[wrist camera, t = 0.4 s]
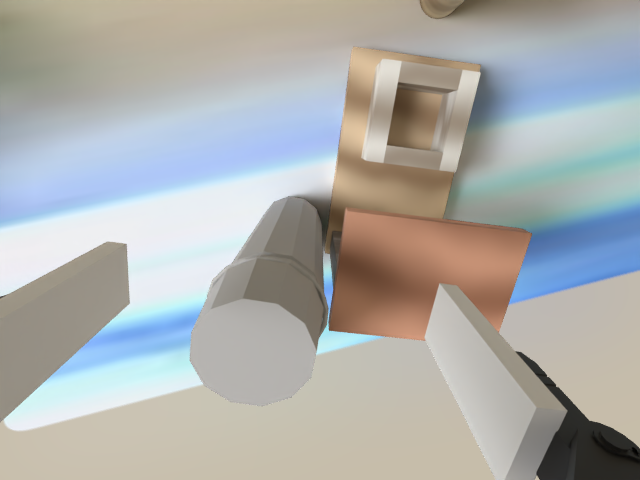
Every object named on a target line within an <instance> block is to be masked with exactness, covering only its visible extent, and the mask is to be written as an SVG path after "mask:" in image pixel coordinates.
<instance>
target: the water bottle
mask: <svg viewBox="0 0 640 480" xmlns="http://www.w3.org/2000/svg"><path fill="white" fill-rule="evenodd" d="M327 318H328V305H327V301H326V297H325V295H324V279H323V247H322V222H321V220H320V217H319V214H318V212H317V209H316V208H315V207H313V206H312V205H311V204H310V203H309V202H307V201H306V200H305V199H301V198H295V197H289V196H288V197H286V198H283V199H280V200H278V201H275V202H274V203H273V204H272V205H271V206H270V208H269V209H268V210H267V211H266V213H265V214H264V215H263V217H262V218H261V220H260V221H259V223H258V224H257V226H256V227H255V229H254V230H253V232H252V233H251V235H250V236H249V238H248V240H247V241H246V243H245V244H244V246H243V247H242V249H241V250H240V252H239V253H238V255H237V256H236V258H235V259H234V261H233V262H232V264H231V265H228V266H226V267H225V268H224V269H223V270H222V271H221V272H220V273H219V274H218V275H217V276H216V277H215V278H214V279H213V280H212V283H211V285H210V288H209V291H208V294H207V299H206V301H205V303H204V306H203V308H202V310H201V312H200V315H199V317H198V319H197V321H196V323H195V326H194V328H193V330H192V332H191V348H190V362H191V364H192V365H193V367H194V369H195V370H196V372H197V374H198V376H199V377H200V379H201V381H202V382H203V384H204V386H206V387H208V388H209V389H211V390H212V391H214V392H215V393H217V394H219V395H220V396H222V397H224V398H225V399H227V400H228V401H230V402H235V403H243V404H249V405H257V406H264V405H268V404H271V403H274V402H278V401H281V400H285V399H288V398H291V397H292V396H293V395H294V394H295V393H296V392H297V391H298V390H299V389H300V388H301V387H302V386H303V385H304V384H305V383H306V382H307V381H308V380H309V379H310V378H311V376H312V371H313V366H314V361H315V357H316V352H317V346H318V339H319V337H320V335H321V334H322V332H323V331H324V329H325V327H326V326H327ZM322 319H323V320H322Z"/></svg>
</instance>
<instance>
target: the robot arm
mask: <svg viewBox="0 0 640 480" xmlns="http://www.w3.org/2000/svg"><path fill="white" fill-rule="evenodd" d="M129 303H130V301H129V281H128V262H127V244H123V243H115V242H106V243H104V244H102V245H100V246H98V247H96V248H94V249H93V250H91V251H89V252H87V253H85V254H83V255H81V256H79V257H78V258H76V259H74V260H72V261H70V262H68V263H66V264H64V265H63V266H61V267H59V268H57V269H55V270H53V271H51V272H49V273H47V274H46V275H44V276H42V277H40V278H38V279H36V280H34V281H32V282H31V283H29V284H27V285H25V286H23V287H21V288H19V289H17V290H16V291H14V292H12V293H10V294H8V295H4V296H1V297H0V422H1V421H2V420H3V419H4V418H5V417H7V416H8V415H9V414H10V413H11V412H12V411H13V410H14V409H15V408H16V407H17V406H19V405H20V404H21V403H22V402H23V401H24V400H25V399H26V398H27V397H28V396H29V395H30V394H32V393H33V392H34V391H35V390H36V389H37V388H38V387H39V386H40V385H41V384H42V383H44V382H45V381H46V380H47V379H48V378H49V377H50V376H51V375H52V374H53V373H54V372H56V371H57V370H58V369H59V368H60V367H61V366H62V365H63V364H64V363H65V362H66V361H67V360H69V359H70V358H71V357H72V356H73V355H74V354H75V353H76V352H77V351H78V350H79V349H81V348H82V347H83V346H84V345H85V344H86V343H87V342H88V341H89V340H90V339H91V338H92V337H94V336H95V335H96V334H97V333H98V332H99V331H100V330H101V329H102V328H103V327H104V326H106V325H107V324H108V323H109V322H110V321H111V320H112V319H113V318H114V317H115V316H116V315H117V314H119V313H120V312H121V311H122V310H123V309H124V308H125V307H126V306H127V305H128V304H129ZM424 338H425V340H426V342H427V344H428V346H429V348H430V350H431V352H432V354H433V356H434V358H435V360H436V362H437V364H438V366H439V368H440V370H441V372H442V374H443V376H444V378H445V380H446V382H447V384H448V386H449V388H450V390H451V392H452V394H453V396H454V398H455V400H456V402H457V404H458V406H459V408H460V410H461V412H462V414H463V416H464V417H465V420H466V422H467V424H468V426H469V427H470V429H471V432H472V434H473V435H474V438H475V439H476V441H477V443H478V446H479V447H480V450H481V451H482V454H483V456H484V457H485V459H486V461H487V463H488V465H489V467H490V469H491V471H492V473H493V475H494V477H495V479H496V480H535V478H536V476H538V477H539V479H540V480H640V448H639V447H638V446H637V445H636V444H635V443H633V442H632V441H631V440H629V439H628V438H627V437H626V436H624V435H623V434H621V433H619V432H617V431H616V430H614V429H613V428H611V427H608V426H605V425H603V424H601V423H597V422H592V421H589V420H588V419H587V418H586V417H585V415H584V414H583V413H582V412H581V411H580V410H579V409H578V408H577V407H576V406H575V405H574V404H573V402H572V401H571V400H570V399H569V398H568V397H567V396H566V395H565V394H564V393H563V392H562V391H561V390H560V388H558V387H556V384H555V383H554V382H553V381H552V380H551V379H550V378H549V377H547V375H546V373H545V372H544V371H543V370H542V369H541V368H540V367H539V366H538V365H537V364H536V363H535V362H534V361H532V360H531V359H530V358H528V357H527V356H525V355H524V354H523V353H521V352H516V351H514V350H513V349H512V347H511V346H510V345H509V344H508V343H507V342H506V341H505V339H504V338H503V337H502V336H501V335H500V334H499V333H498V331H497V330H496V329H495V328H494V327H493V326H492V325H491V323H490V322H489V321H488V320H487V319H486V318H485V317H484V316H483V314H482V313H481V312H480V311H479V310H478V309H477V308H476V306H475V305H474V304H473V303H472V302H471V301H470V300H469V299H468V297H467V296H466V295H465V294H464V293H463V292H462V291H461V289H460V288H459V287H458V286H457V285H450V284H442V283H439V287H438V290H437V294H436V298H435V301H434V305H433V308H432V312H431V316H430V319H429V323H428V326H427V330H426V334H425V337H424Z"/></svg>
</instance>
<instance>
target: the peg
mask: <svg viewBox="0 0 640 480" xmlns="http://www.w3.org/2000/svg"><path fill="white" fill-rule="evenodd" d="M464 1H465V0H420V5H421V8H422V10H423V11H424V12H425V14H426V15H428V16H429V17H431V18H435V19H440V18H444V17H446V16H448V15H449V14H450V13H451V12H453V11H454V10H455V9H456V8H457V7H458V6H459V5H460V4H461V3H463V2H464Z"/></svg>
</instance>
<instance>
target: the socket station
mask: <svg viewBox="0 0 640 480" xmlns="http://www.w3.org/2000/svg"><path fill="white" fill-rule="evenodd" d="M480 67H481V65H479V64H472V63H465V62H458V61H451V60H444V59H437V58H430V57H423V56H416V55H409V54H402V53H395V52H388V51H380V50H373V49H366V48H359V47H353V49H352V52H351V60H350V67H349V74H348V82H347V89H346V96H345V103H344V111H343V118H342V125H341V133H340V140H339V147H338V155H337V162H336V169H335V177H334V184H333V191H332V198H331V206H330V213H329V220H328V228H327V235H326V242H325V253H328V254H330V258H331V269H332V280H333V295H332V302H331V308H330V315H329V331H338V332H348V333H357V334H366V335H376V336H385V337H395V338H404V339H414V340H423V341H426V340H425V338H424V337H425V334H426V330H427V326H428V323H429V319H430V316H431V312H432V308H433V305H434V301H435V298H436V294H437V290H438V287H439V283H442V284H450V285H457V286H458V287H459V288H460V289H461V291H462V292H463V293H464V294H465V295H466V296H467V297H468V299H469V300H470V301H471V302H472V303H473V304H474V305H475V306H476V308H477V309H478V310H479V311H480V312H481V313H482V314H483V316H484V317H485V318H486V319H487V320H488V321H489V322H490V323H491V325H492V326H493V327H494V328H495V329H496V330H497V331H498V333H499V330H500V327H501V324H502V322H503V319H504V316H505V313H506V310H507V307H508V304H509V301H510V298H511V295H512V292H513V289H514V286H515V283H516V280H517V277H518V274H519V272H520V269H521V266H522V263H523V260H524V257H525V254H526V251H527V248H528V245H529V242H530V239H531V236H532V233H530V232H528V231H526V230H524V229H521V228H513V227H505V226H497V225H489V224H480V223H472V222H464V221H456V220H448V219H443V216H444V212H445V208H446V204H447V200H448V196H449V192H450V188H451V184H452V180H453V176H454V172H456V170H457V166H458V162H459V158H460V154H461V150H462V146H463V142H464V138H465V134H466V130H467V126H468V122H469V118H470V114H471V110H472V106H473V102H474V98H475V94H476V90H477V86H478V82H479V78H480V74H481V72H479V71H480Z"/></svg>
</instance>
